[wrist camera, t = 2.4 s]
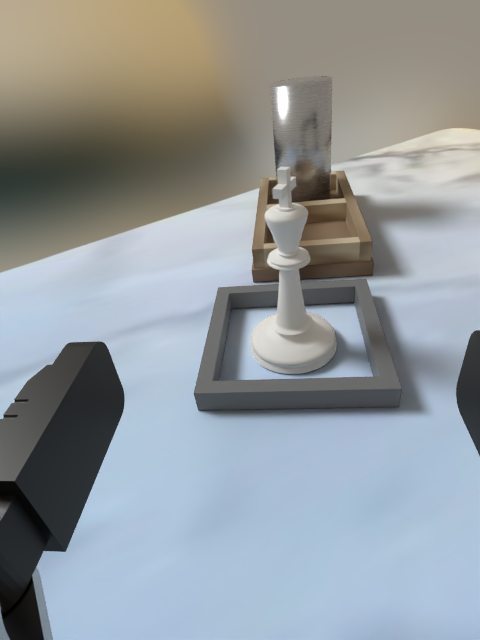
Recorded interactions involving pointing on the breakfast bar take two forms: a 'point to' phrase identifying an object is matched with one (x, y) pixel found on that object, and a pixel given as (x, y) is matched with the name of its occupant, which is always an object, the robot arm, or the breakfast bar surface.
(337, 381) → the frame
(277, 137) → the steel peg
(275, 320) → the chess piece
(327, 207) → the wooden divided tray
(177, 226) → the breakfast bar surface
